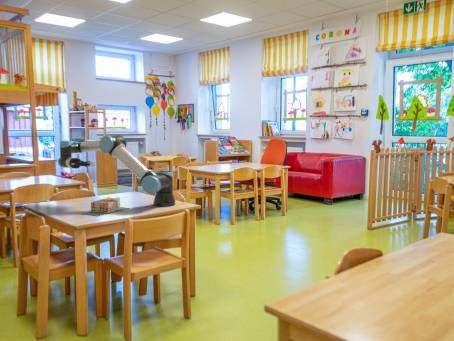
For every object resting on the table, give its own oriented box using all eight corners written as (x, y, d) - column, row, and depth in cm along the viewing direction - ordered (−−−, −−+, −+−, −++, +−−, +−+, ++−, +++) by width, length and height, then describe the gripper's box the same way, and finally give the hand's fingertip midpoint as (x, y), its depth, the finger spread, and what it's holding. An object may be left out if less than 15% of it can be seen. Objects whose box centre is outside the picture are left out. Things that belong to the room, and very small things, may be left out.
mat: (129, 208, 275) (129, 208, 275) (97, 216, 251) (97, 215, 251) (115, 206, 281) (115, 206, 281) (82, 213, 257) (82, 213, 257)
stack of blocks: (107, 197, 281) (124, 198, 278) (107, 206, 281) (124, 207, 279) (90, 202, 260) (108, 203, 257) (90, 212, 260) (108, 213, 258)
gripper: (82, 167, 300) (102, 169, 286) (65, 168, 290) (85, 170, 275) (81, 157, 299) (101, 158, 285) (65, 158, 289) (85, 159, 275)
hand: (93, 164), depth 280 cm, fingers closed
